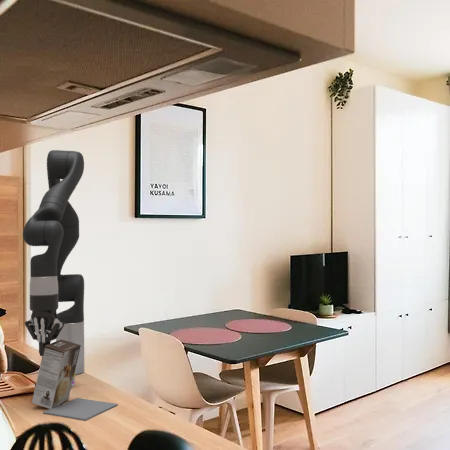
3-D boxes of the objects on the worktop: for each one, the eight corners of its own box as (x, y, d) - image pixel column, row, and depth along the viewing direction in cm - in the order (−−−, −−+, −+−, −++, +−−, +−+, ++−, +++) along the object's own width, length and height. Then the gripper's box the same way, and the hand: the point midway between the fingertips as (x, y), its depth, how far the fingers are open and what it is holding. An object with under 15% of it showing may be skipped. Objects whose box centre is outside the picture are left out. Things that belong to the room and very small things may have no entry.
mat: (43, 413, 137) (43, 411, 137) (77, 399, 148) (77, 397, 149) (85, 420, 131) (85, 419, 131) (117, 405, 142) (117, 403, 142)
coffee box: (48, 393, 150) (61, 338, 149) (68, 399, 148) (81, 344, 148) (30, 403, 141) (44, 345, 140) (51, 410, 139) (65, 352, 139)
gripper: (71, 292, 146) (72, 355, 146) (36, 290, 152) (37, 351, 151) (52, 294, 139) (52, 360, 139) (16, 293, 145) (16, 356, 145)
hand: (44, 355), depth 145 cm, fingers closed
